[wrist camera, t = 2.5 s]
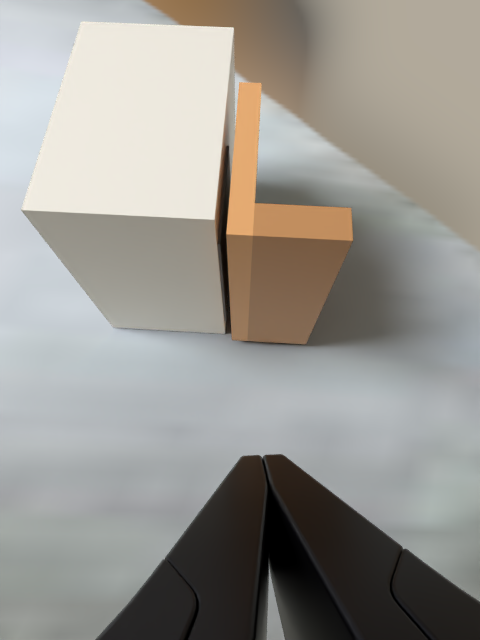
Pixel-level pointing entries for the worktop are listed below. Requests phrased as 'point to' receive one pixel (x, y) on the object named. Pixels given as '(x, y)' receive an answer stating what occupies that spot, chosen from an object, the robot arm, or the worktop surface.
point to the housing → (142, 173)
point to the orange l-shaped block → (276, 247)
